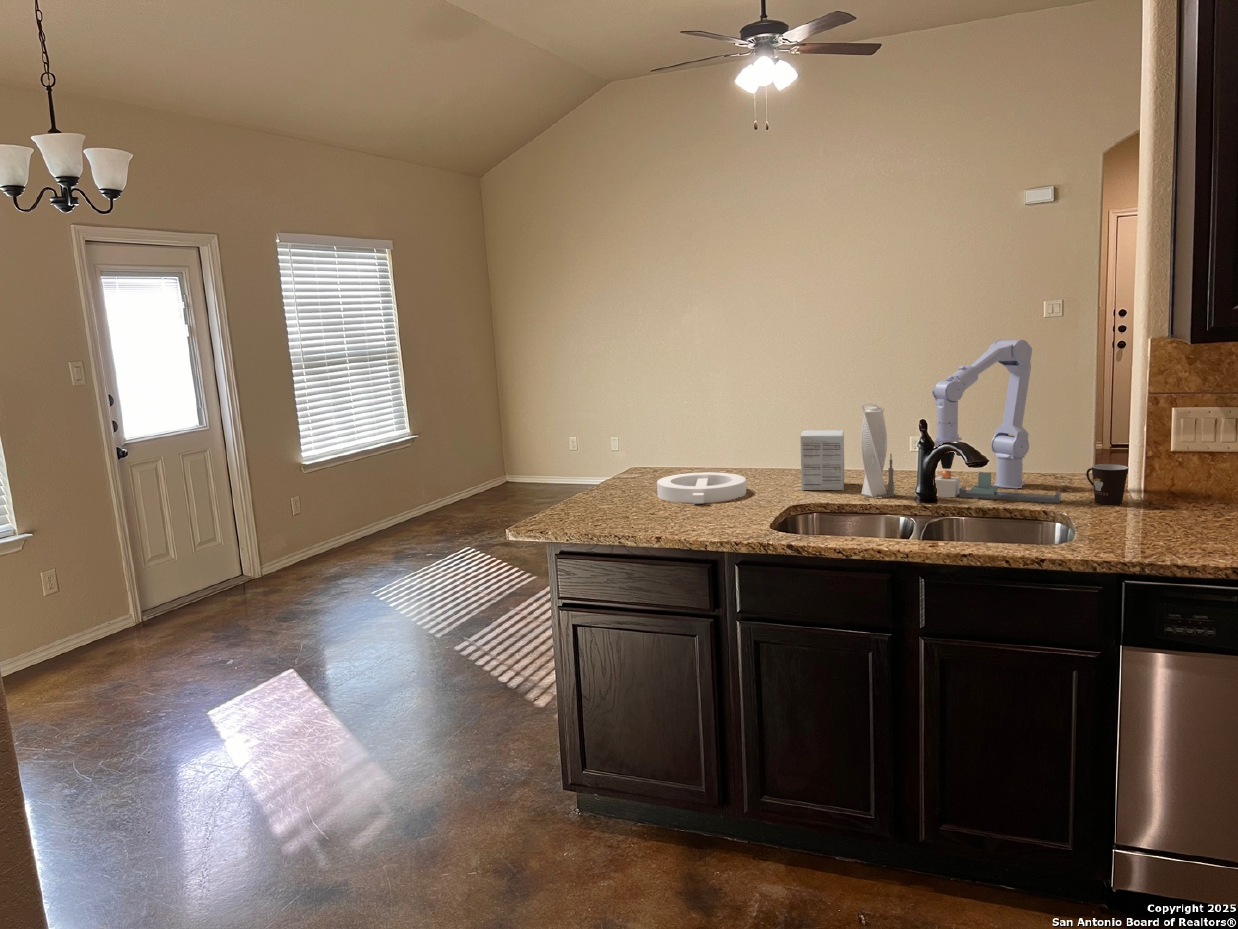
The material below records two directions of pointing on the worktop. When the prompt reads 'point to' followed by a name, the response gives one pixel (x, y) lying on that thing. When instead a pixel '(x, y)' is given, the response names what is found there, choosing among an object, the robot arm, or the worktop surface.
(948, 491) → the white button housing
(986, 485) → the carriage
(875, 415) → the skyscraper
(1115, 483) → the coffee mug
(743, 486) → the ring with crossbar
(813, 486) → the supplement box
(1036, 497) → the rail
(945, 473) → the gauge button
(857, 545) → the worktop surface
